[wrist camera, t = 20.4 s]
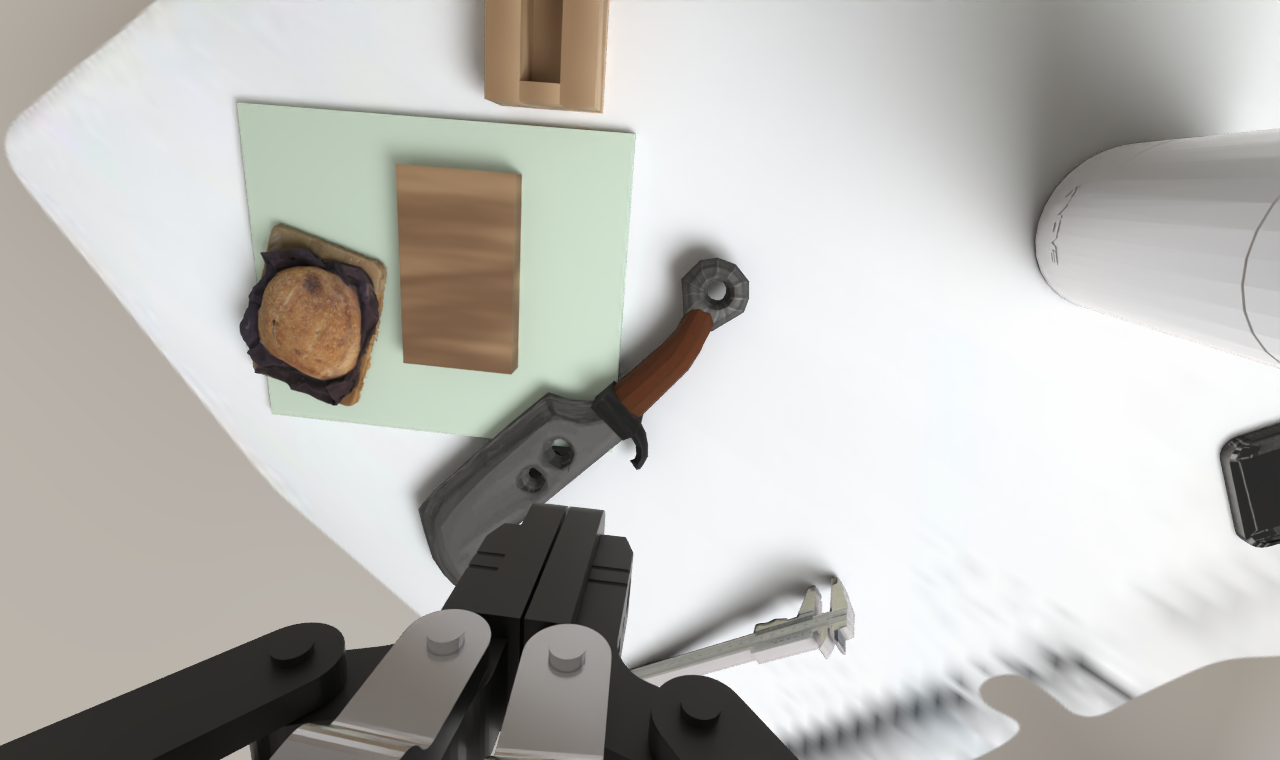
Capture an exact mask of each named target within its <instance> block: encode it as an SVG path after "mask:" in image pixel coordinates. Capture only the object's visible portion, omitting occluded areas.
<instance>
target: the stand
mask: <svg viewBox="0 0 1280 760" xmlns="http://www.w3.org/2000/svg"><path fill="white" fill-rule="evenodd" d="M608 14H609V0H485V99H487V100H489V101H492V102H494V103H496V104H499V105H501V106H512V107H525V108H538V109H551V110H564V111H577V112H590V113H603V103H604V85H605V67H606V49H607V32H608Z"/></svg>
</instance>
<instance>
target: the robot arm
mask: <svg viewBox="0 0 1280 760" xmlns="http://www.w3.org/2000/svg"><path fill="white" fill-rule="evenodd" d="M1035 241H1036V257H1037V260H1038V264H1039V267H1040V270H1041V273H1042V274H1043V276H1044V278H1045V279H1046V281H1047V283H1048V284H1049V286H1050V287H1051V288H1052V289H1053V290H1054V291H1055V292H1057V293H1058V294H1059V295H1060V296H1061V297H1063V298H1064V299H1066V300H1068V301H1070V302H1071V303H1073V304H1075V305H1079V306H1082V307H1085V308H1088V309H1091V310H1094V311H1098V312H1101V313H1104V314H1107V315H1110V316H1113V317H1116V318H1119V319H1122V320H1125V321H1128V322H1131V323H1135V324H1138V325H1141V326H1144V327H1147V328H1151V329H1154V330H1157V331H1160V332H1164V333H1167V334H1170V335H1173V336H1177V337H1180V338H1183V339H1186V340H1189V341H1193V342H1196V343H1199V344H1202V345H1206V346H1209V347H1212V348H1215V349H1219V350H1222V351H1225V352H1228V353H1231V354H1235V355H1238V356H1241V357H1244V358H1248V359H1251V360H1254V361H1257V362H1261V363H1264V364H1267V365H1270V366H1273V367H1277V368H1280V129H1270V130H1260V131H1251V132H1241V133H1231V134H1222V135H1212V136H1202V137H1191V138H1180V139H1171V140H1162V141H1153V142H1144V143H1136V144H1127V145H1121V146H1118V147H1115V148H1112V149H1109V150H1105V151H1102V152H1101V153H1099V154H1097V155H1095V156H1093V157H1091V158H1090V159H1088V160H1086V161H1084V162H1083V163H1082V164H1080V165H1079V166H1078V167H1077V168H1075V169H1074V170H1073V171H1071V172H1070V173H1069V174H1068V175H1067V176H1066V177H1065V178H1064V179H1063V181H1062V182H1061V183H1060V184H1059V185H1058V186H1057V187H1056V188H1055V190H1054V191H1053V193H1052V195H1051V196H1050V198H1049V200H1048V201H1047V203H1046V204H1045V206H1044V209H1043V212H1042V214H1041V217H1040V220H1039V222H1038V227H1037V234H1036V240H1035ZM604 526H605V511H604V510H596V509H588V508H579V507H570V508H569V507H568V506H561V505H553V504H545V503H536V502H534V503H533V504H532V505H531V507H530V509H529V511H528V513H527V515H526V517H525V519H524V520H523V522H522V524H521V525H518V524H510V523H504V524H503V525H501V526H500V527H498V528H497V529H495V530H494V531H492V532H491V533H489V534H488V535H487V536H486V537H485V539H484V541H483V542H482V544H481V546H480V547H479V549H478V550H477V554H475V555H474V557H473V559H472V560H471V562H470V564H469V567H467V568H466V570H465V572H464V573H463V575H462V577H461V578H460V580H459V582H458V583H457V585H456V586H455V588H454V590H453V591H452V593H451V595H450V596H449V598H448V600H447V601H446V603H445V604H444V606H443V608H442V609H441V611H436V612H433V613H430V614H427V615H425V616H423V617H421V618H419V619H418V620H416V621H415V622H413V623H412V624H411V625H410V626H409V627H408V628H407V629H406V630H405V631H404V632H403V634H402V635H401V636H400V638H399V639H398V640H397V641H396V643H395V644H391V645H386V646H379V647H370V648H362V649H353V650H345V641H344V637H343V635H342V633H341V632H340V631H339V630H338V629H336V628H334V627H333V626H330V625H327V624H323V623H301V624H296V625H291V626H288V627H284V628H282V629H279V630H276V631H274V632H271V633H269V634H266V635H264V636H262V637H259V638H257V639H255V640H252V641H250V642H247V643H245V644H243V645H240V646H238V647H236V648H233V649H231V650H228V651H226V652H223V653H221V654H219V655H216V656H214V657H211V658H209V659H207V660H204V661H202V662H199V663H197V664H195V665H193V666H190V667H188V668H185V669H183V670H180V671H178V672H176V673H173V674H171V675H168V676H166V677H164V678H161V679H159V680H156V681H154V682H152V683H149V684H147V685H145V686H142V687H140V688H137V689H135V690H133V691H130V692H128V693H125V694H123V695H121V696H118V697H116V698H113V699H111V700H109V701H106V702H104V703H101V704H99V705H97V706H94V707H92V708H90V709H87V710H85V711H82V712H80V713H78V714H75V715H73V716H71V717H68V718H66V719H63V720H61V721H58V722H56V723H54V724H51V725H49V726H46V727H44V728H42V729H39V730H37V731H34V732H32V733H30V734H27V735H25V736H23V737H20V738H18V739H15V740H13V741H11V742H8V743H6V744H3V745H1V746H0V760H220V759H222V758H224V757H226V756H228V755H230V754H232V753H233V752H235V751H237V750H239V749H241V748H243V747H245V746H247V745H250V751H251V758H252V760H798V758H797V757H796V756H795V755H794V754H793V753H792V752H791V751H790V750H789V749H788V748H787V747H786V746H785V745H784V744H783V743H782V742H781V740H780V739H779V738H778V737H777V736H776V735H775V734H774V733H773V732H772V731H771V730H770V729H769V728H768V727H767V726H766V725H765V723H764V722H763V721H762V720H761V719H760V718H759V717H758V716H757V715H756V714H755V713H754V712H753V711H752V710H751V709H750V708H749V707H748V705H747V704H746V703H745V702H744V701H743V700H742V699H741V698H740V697H739V696H738V695H737V694H736V693H735V692H734V691H733V690H732V689H731V688H729V687H728V686H726V685H725V684H723V683H721V682H719V681H718V680H715V679H712V678H710V677H706V676H701V675H683V676H678V677H675V678H673V679H670V680H669V681H667V682H665V683H664V684H663V685H661V686H660V687H658V686H656V685H653V684H651V683H649V682H647V681H645V680H643V679H641V678H639V677H638V676H636V675H635V674H633V673H632V672H631V671H630V670H629V669H628V668H627V667H626V665H625V664H624V663H623V661H622V659H621V653H622V647H623V641H624V634H625V629H626V623H627V617H628V607H629V596H630V585H631V573H632V562H633V551H632V549H631V547H630V545H629V543H628V541H627V539H626V537H619V536H611V535H604ZM500 731H501V733H500V736H499V740H498V744H497V747H496V751H495V754H494V756H490V755H491V753H492V751H493V748H494V745H495V742H496V740H497V737H498V734H499V732H500Z"/></svg>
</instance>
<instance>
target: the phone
mask: <svg viewBox="0 0 1280 760" xmlns="http://www.w3.org/2000/svg"><path fill="white" fill-rule="evenodd" d="M1220 461H1221V466H1222V471H1223V475H1224V480H1225V485H1226V489H1227V494H1228V499H1229V503H1230V508H1231V513H1232V518H1233V522H1234V527H1235V531H1236V534H1237V535H1238V536H1239V537H1240V538H1241V539H1242V540H1244V541H1246V542H1247V543H1249V544H1250V545H1252V546H1255V547H1260V548H1263V547H1269V546H1273V545H1276V544H1280V424H1277V425H1274V426H1271V427H1268V428H1265V429H1261V430H1258V431H1255V432H1252V433H1249V434H1245V435H1242V436H1239V437H1236V438H1234V439H1232V440H1230V441H1229V442H1228V443H1226V444H1225V446H1224V447H1223V448H1222V450H1221V453H1220Z"/></svg>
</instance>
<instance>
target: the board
mask: <svg viewBox="0 0 1280 760" xmlns="http://www.w3.org/2000/svg"><path fill="white" fill-rule="evenodd" d="M396 186H397V212H398V238H399V264H400V290H401V316H402V342H403V363H408V364H417V365H426V366H436V367H445V368H454V369H464V370H473V371H482V372H492V373H501V374H510V375H511V374H512V373H513V372H514V371H515V370H516V369H517V368H518V355H519V309H520V262H521V216H522V174H510V173H499V172H487V171H476V170H464V169H452V168H441V167H429V166H418V165H406V164H396Z"/></svg>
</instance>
